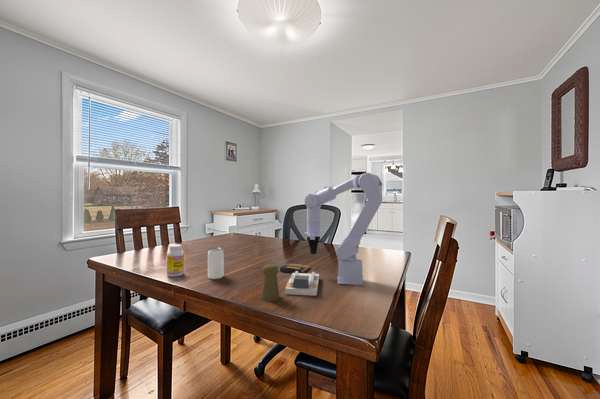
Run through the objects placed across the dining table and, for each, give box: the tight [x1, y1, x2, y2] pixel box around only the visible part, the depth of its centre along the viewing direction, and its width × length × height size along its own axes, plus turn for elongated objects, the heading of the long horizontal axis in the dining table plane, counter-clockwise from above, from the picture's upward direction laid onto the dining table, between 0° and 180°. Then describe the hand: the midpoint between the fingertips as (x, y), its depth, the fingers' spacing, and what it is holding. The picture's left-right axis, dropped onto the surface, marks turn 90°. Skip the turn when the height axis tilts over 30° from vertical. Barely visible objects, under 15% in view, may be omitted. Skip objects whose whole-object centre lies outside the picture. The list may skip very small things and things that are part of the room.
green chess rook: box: [261, 263, 280, 302], centre depth 84 cm, size 6×6×11 cm
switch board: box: [284, 271, 320, 296], centre depth 95 cm, size 11×18×4 cm, turn 173°
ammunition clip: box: [279, 263, 311, 274], centre depth 117 cm, size 11×2×12 cm
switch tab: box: [294, 275, 309, 288], centre depth 89 cm, size 5×4×3 cm
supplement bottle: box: [166, 243, 185, 278], centre depth 109 cm, size 7×7×13 cm
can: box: [207, 247, 225, 280], centre depth 106 cm, size 6×6×12 cm
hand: (313, 253), depth 108 cm, fingers closed
